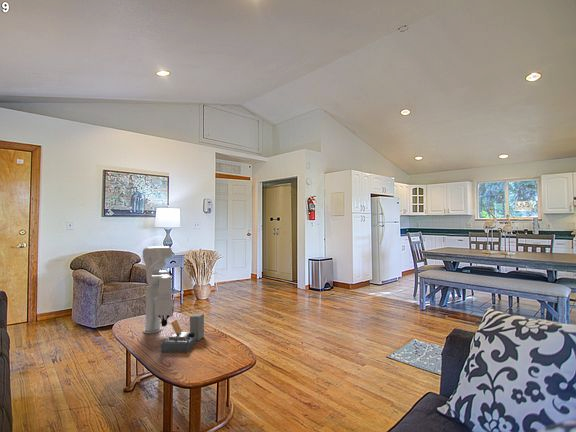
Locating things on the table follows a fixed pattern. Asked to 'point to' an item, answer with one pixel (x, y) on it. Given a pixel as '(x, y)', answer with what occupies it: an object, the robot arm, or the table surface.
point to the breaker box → (179, 342)
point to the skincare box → (197, 325)
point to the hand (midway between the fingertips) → (164, 325)
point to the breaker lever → (176, 327)
